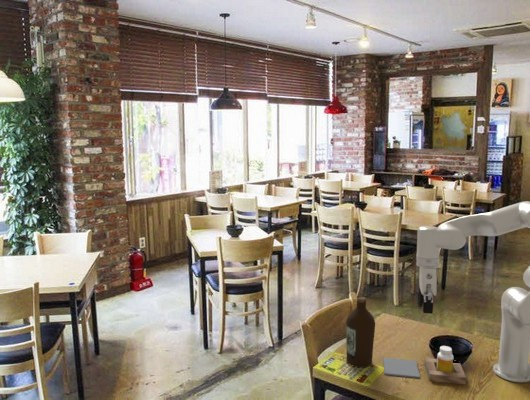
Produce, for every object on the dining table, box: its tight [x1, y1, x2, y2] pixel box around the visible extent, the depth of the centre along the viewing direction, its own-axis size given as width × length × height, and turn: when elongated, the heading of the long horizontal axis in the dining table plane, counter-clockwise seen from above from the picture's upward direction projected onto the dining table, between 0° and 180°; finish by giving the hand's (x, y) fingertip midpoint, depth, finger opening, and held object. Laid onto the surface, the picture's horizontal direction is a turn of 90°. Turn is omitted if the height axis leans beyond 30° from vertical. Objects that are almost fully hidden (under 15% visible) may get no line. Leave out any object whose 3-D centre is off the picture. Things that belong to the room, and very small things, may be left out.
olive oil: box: [345, 296, 376, 368], centre depth 175 cm, size 11×11×25 cm
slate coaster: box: [382, 357, 421, 379], centre depth 172 cm, size 12×12×1 cm
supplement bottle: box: [436, 345, 454, 373], centre depth 167 cm, size 5×5×10 cm
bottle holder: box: [424, 357, 467, 385], centre depth 168 cm, size 12×12×2 cm
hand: (425, 307), depth 168 cm, fingers open, 9 cm apart
